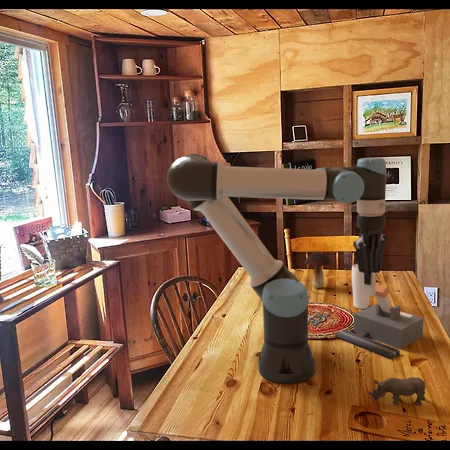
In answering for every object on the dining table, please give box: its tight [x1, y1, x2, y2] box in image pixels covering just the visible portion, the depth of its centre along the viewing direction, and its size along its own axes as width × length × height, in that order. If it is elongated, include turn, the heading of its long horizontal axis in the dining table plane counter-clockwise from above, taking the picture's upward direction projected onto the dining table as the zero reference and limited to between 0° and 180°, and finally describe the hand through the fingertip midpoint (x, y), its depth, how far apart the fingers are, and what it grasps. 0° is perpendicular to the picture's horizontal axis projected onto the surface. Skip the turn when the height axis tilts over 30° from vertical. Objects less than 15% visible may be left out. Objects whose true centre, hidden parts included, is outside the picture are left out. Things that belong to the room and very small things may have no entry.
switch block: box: [353, 303, 424, 350], centre depth 136 cm, size 12×16×10 cm
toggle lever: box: [373, 284, 394, 315], centre depth 133 cm, size 2×4×11 cm
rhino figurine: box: [366, 376, 426, 406], centre depth 103 cm, size 4×14×6 cm, turn 88°
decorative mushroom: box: [304, 251, 333, 289], centre depth 180 cm, size 11×11×15 cm
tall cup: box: [351, 263, 370, 310], centre depth 158 cm, size 7×7×15 cm
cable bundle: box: [335, 329, 401, 359], centre depth 131 cm, size 8×19×1 cm, turn 38°
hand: (369, 294), depth 128 cm, fingers closed
